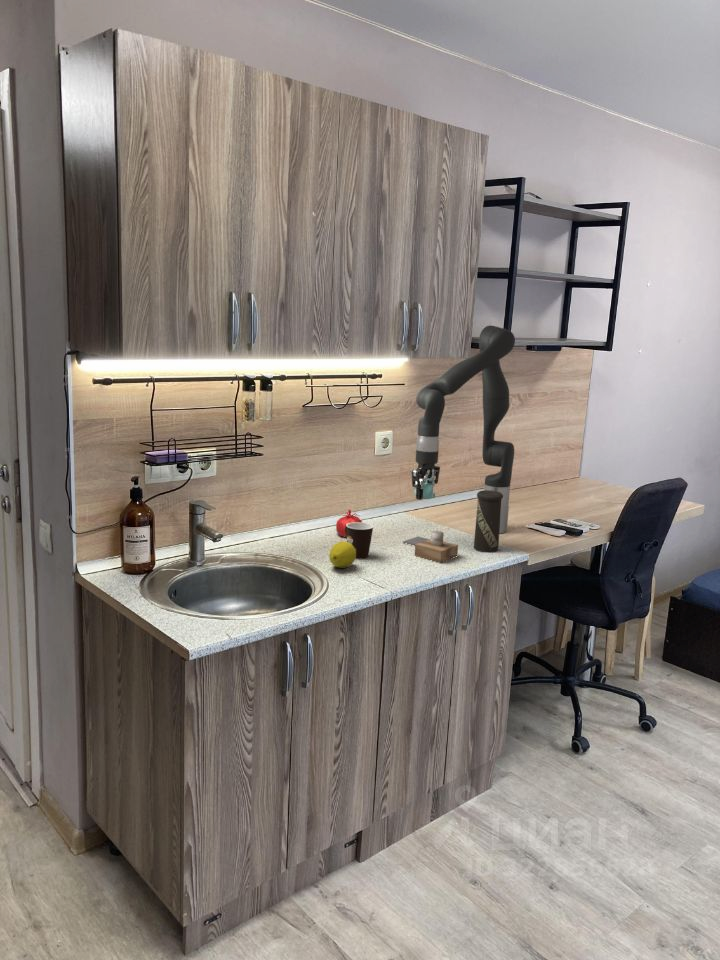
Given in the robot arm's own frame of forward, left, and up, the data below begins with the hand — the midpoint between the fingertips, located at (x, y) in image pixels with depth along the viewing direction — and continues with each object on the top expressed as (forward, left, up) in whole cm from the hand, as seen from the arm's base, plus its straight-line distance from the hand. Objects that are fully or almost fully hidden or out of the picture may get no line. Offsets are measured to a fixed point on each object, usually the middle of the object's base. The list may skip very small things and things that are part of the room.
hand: (424, 497), depth 266 cm
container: (-11, +19, -16) cm, 27 cm away
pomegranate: (+11, -23, -16) cm, 30 cm away
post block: (+9, +12, -16) cm, 22 cm away
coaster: (0, 0, -16) cm, 16 cm away
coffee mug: (+26, -7, -16) cm, 32 cm away
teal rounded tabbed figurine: (0, 0, 0) cm, 0 cm away
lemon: (+40, -2, -16) cm, 43 cm away
